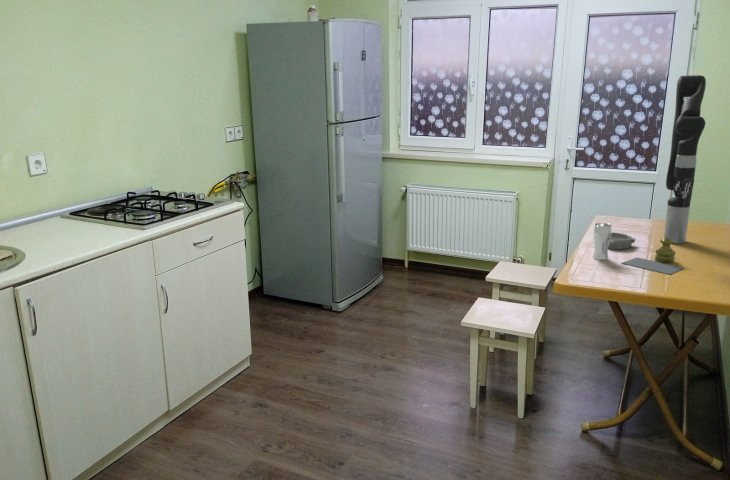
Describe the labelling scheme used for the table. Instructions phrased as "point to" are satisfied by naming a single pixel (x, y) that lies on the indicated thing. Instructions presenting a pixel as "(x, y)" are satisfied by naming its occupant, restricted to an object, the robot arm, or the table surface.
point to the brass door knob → (665, 252)
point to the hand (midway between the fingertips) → (680, 206)
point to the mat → (653, 265)
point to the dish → (620, 241)
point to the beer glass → (601, 240)
